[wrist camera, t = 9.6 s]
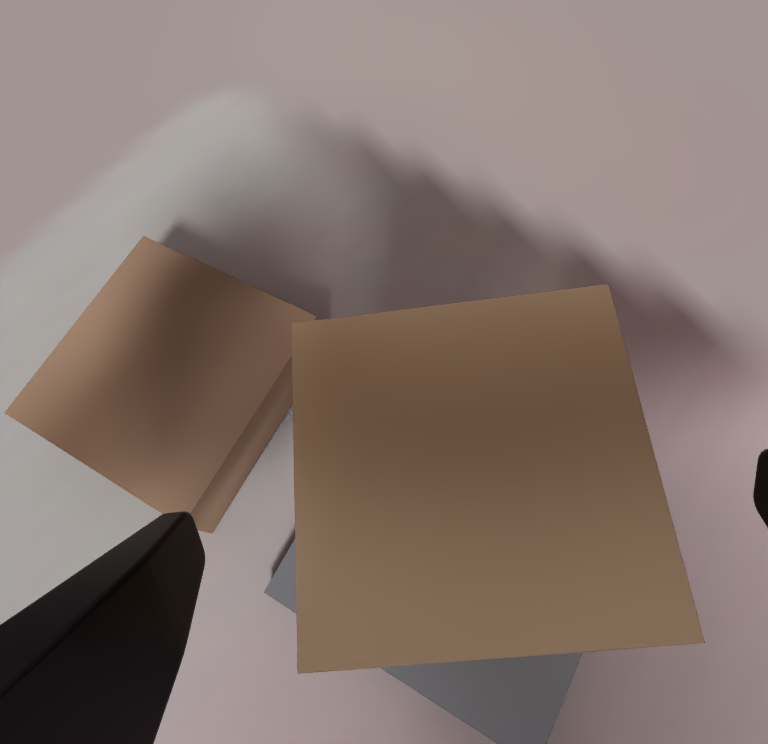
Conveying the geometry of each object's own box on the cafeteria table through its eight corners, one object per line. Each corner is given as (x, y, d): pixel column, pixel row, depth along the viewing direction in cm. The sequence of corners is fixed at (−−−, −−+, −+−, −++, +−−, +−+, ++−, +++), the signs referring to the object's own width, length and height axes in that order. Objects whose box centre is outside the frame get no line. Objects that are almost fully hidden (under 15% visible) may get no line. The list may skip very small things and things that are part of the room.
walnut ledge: (330, 343, 19) (316, 316, 17) (212, 533, 17) (182, 526, 15) (171, 267, 20) (143, 236, 19) (48, 430, 19) (4, 412, 17)
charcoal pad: (646, 476, 16) (653, 471, 15) (532, 761, 14) (536, 768, 13) (402, 361, 18) (400, 354, 17) (270, 592, 16) (263, 592, 15)
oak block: (557, 613, 14) (705, 643, 6) (385, 626, 15) (297, 673, 6) (526, 443, 16) (608, 283, 8) (373, 459, 16) (290, 323, 8)
